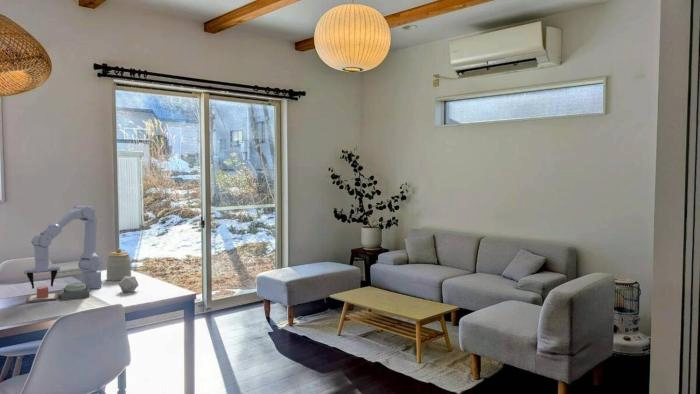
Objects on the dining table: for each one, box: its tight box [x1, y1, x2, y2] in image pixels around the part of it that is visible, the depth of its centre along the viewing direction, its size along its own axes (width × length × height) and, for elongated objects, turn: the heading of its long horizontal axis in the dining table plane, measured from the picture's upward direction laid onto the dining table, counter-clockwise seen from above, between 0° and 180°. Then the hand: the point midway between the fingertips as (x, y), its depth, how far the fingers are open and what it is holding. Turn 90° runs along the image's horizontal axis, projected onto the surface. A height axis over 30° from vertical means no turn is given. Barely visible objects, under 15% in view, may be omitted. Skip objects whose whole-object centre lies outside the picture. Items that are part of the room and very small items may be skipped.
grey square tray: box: [60, 286, 90, 300], centre depth 241 cm, size 12×12×3 cm
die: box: [118, 275, 139, 293], centre depth 249 cm, size 8×9×10 cm
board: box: [26, 292, 59, 304], centre depth 234 cm, size 12×12×1 cm
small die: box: [36, 285, 49, 298], centre depth 234 cm, size 4×4×5 cm
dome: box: [64, 282, 86, 293], centre depth 240 cm, size 9×9×3 cm
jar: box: [106, 248, 132, 282], centre depth 278 cm, size 13×13×18 cm
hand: (42, 287), depth 234 cm, fingers open, 7 cm apart
